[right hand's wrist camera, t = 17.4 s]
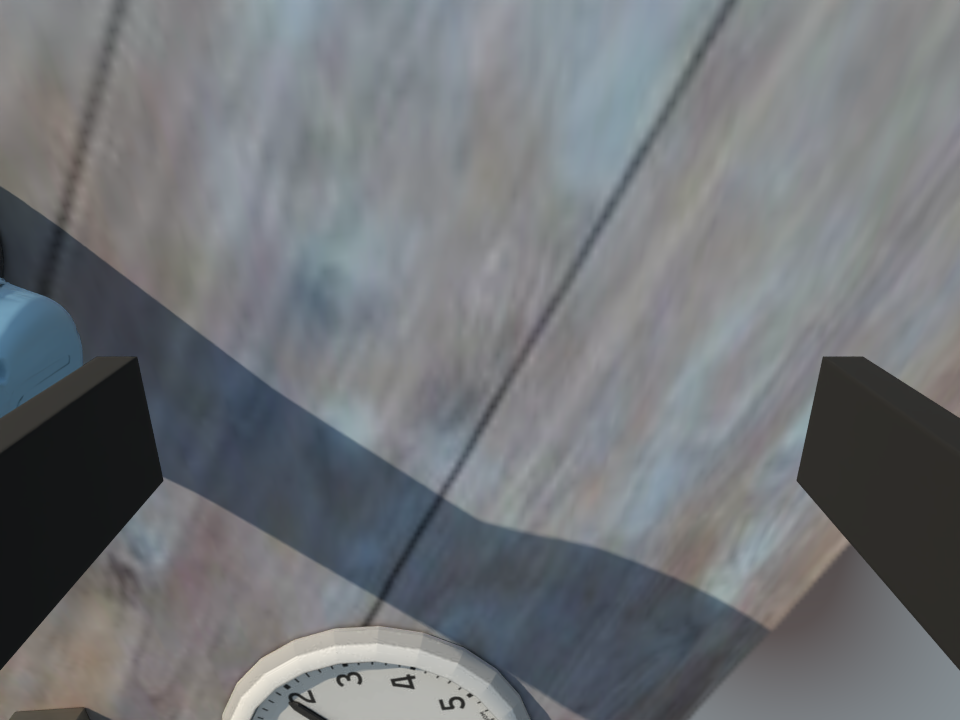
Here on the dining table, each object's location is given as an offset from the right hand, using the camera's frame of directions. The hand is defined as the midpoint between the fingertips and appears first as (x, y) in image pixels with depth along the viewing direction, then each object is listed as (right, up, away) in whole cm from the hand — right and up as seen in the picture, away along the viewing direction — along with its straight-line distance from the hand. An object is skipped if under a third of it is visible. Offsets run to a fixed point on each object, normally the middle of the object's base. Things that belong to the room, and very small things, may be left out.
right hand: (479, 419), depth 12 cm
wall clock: (-10, -36, +48) cm, 61 cm away
